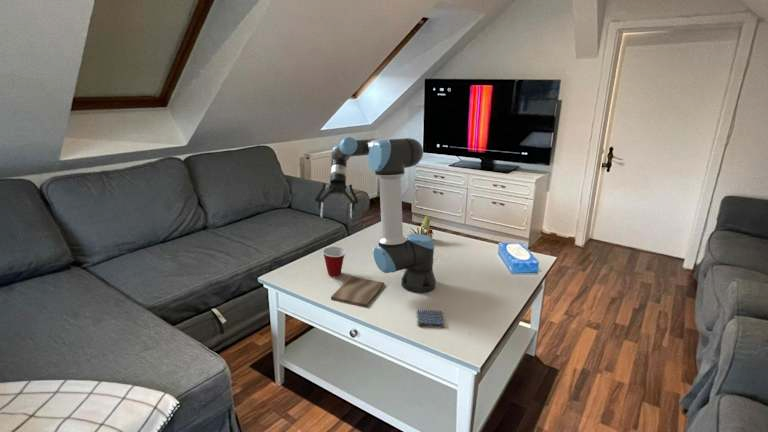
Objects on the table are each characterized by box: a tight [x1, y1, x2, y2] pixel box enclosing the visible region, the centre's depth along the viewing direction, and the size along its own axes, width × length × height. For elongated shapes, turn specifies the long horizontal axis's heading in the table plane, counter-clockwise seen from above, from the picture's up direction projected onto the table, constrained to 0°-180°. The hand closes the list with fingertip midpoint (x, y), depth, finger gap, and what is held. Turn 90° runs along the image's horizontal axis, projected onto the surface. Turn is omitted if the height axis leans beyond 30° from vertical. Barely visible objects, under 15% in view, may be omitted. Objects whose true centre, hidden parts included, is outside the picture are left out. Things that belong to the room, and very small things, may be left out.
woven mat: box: [416, 309, 446, 328], centre depth 158 cm, size 10×11×2 cm
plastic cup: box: [321, 246, 347, 278], centre depth 191 cm, size 11×11×12 cm
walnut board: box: [330, 276, 385, 308], centre depth 177 cm, size 16×20×1 cm
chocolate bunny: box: [419, 215, 434, 239], centre depth 229 cm, size 7×11×15 cm, turn 143°
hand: (336, 216), depth 192 cm, fingers open, 13 cm apart
